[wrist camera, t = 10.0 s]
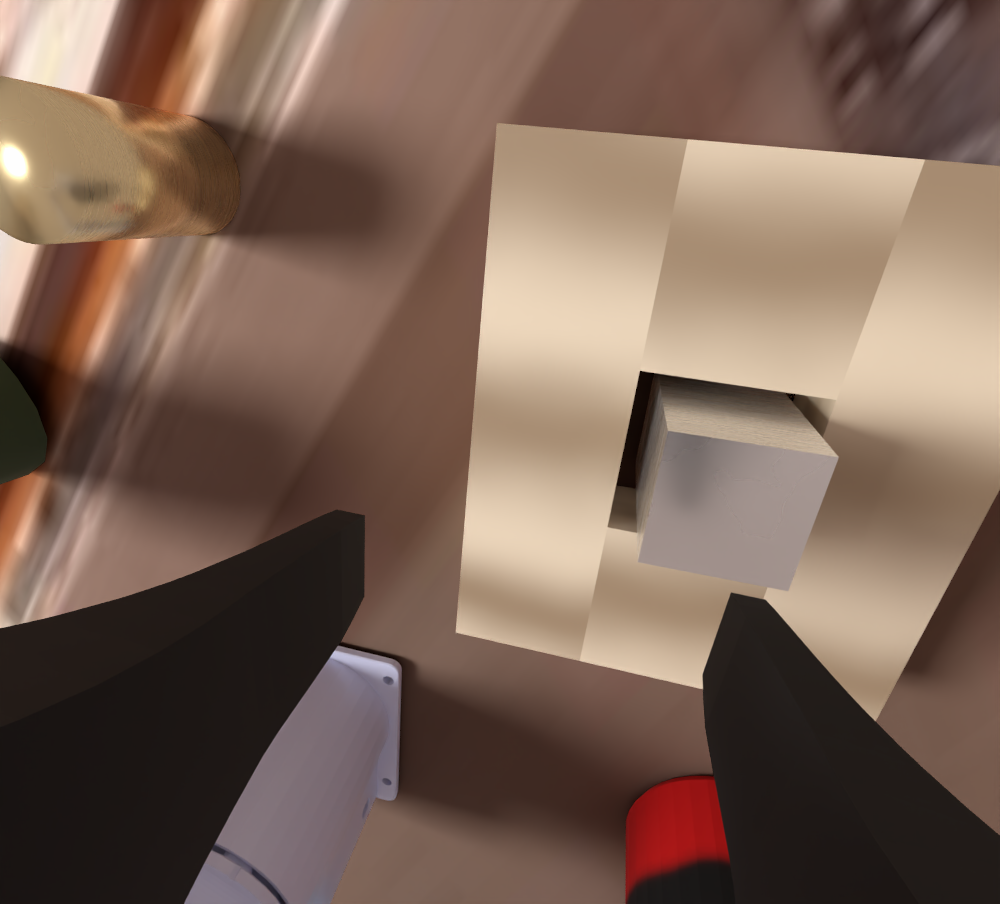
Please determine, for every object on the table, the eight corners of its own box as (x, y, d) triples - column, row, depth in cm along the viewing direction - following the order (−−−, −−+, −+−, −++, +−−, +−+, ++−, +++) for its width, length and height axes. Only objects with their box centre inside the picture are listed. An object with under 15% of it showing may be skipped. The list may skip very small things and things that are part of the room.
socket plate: (840, 660, 21) (871, 727, 18) (476, 582, 23) (455, 632, 20) (1062, 185, 14) (1166, 179, 11) (518, 137, 16) (497, 123, 13)
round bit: (245, 240, 19) (95, 252, 14) (153, 228, 20) (-26, 236, 14) (234, 119, 18) (61, 80, 12) (135, 110, 18) (-73, 69, 13)
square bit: (742, 481, 19) (788, 591, 13) (635, 464, 19) (637, 562, 14) (773, 379, 17) (839, 457, 12) (656, 363, 18) (668, 431, 13)
